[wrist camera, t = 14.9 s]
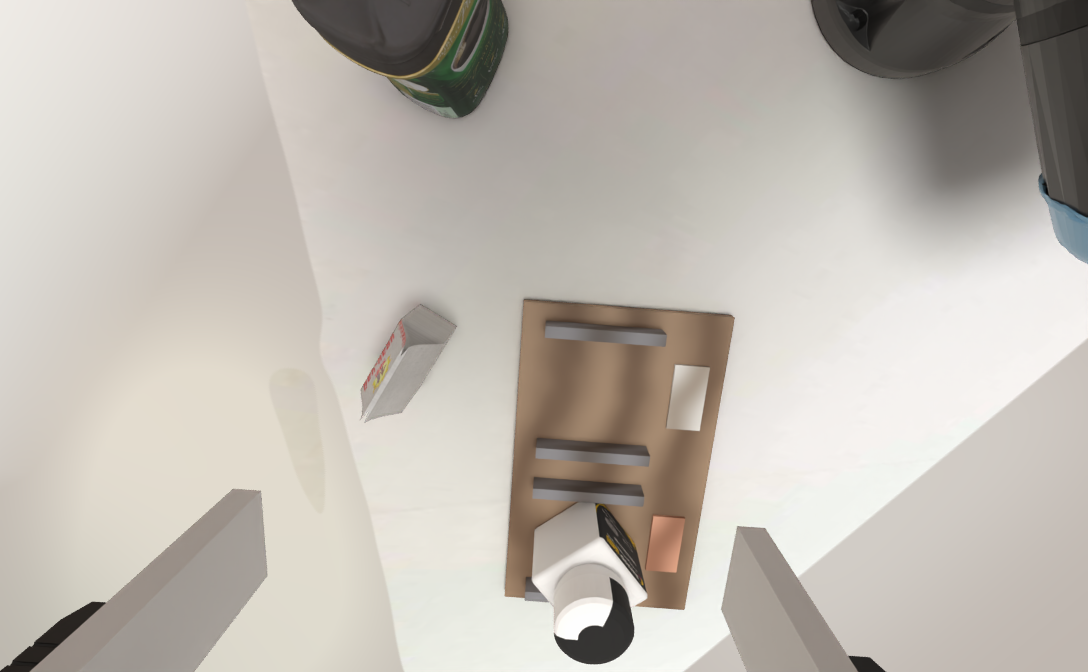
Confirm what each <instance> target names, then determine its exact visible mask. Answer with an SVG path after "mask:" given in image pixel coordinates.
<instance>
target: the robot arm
mask: <svg viewBox="0 0 1088 672" xmlns="http://www.w3.org/2000/svg"><path fill="white" fill-rule="evenodd" d="M812 3H813V8H814V12H815V16H816V19H817V21H818V24H819V26H820V29H821V31H822V33H823V35H824V36H825V38H826V40H827V41H828V43H829V44H830V46H831V47H832V48H833V49H834V51H835V52H836V53H837V54H838V55H839V56H840V57H841V58H843V59H844V60H845V61H846V62H848V63H849V64H850V65H852V66H854V67H855V68H857V69H859V70H861V71H863V72H866V73H868V74H871V75H874V76H879V77H884V78H910V77H916V76H921V75H924V74H928V73H931V72H934V71H936V70H939V69H942V68H945V67H948V66H951V65H953V64H956V63H958V62H960V61H962V60H964V59H966V58H968V57H970V56H971V55H973V54H975V53H976V52H978V51H980V50H981V49H982V48H984V47H985V46H987V45H988V44H989V43H990V42H992V41H993V40H994V39H995V38H996V37H997V36H998V35H1000V34H1001V33H1002V32H1003V31H1004V30H1005V29H1006V28H1007V27H1008V26H1009V25H1010V24H1011V23H1012V22H1013V21H1015V20H1016V19H1017V25H1018V31H1019V37H1020V43H1021V44H1020V45H1021V46H1020V47H1021V53H1022V59H1023V65H1024V71H1025V76H1026V82H1027V88H1028V94H1029V100H1030V106H1031V112H1032V118H1033V123H1034V129H1035V135H1036V141H1037V147H1038V153H1039V159H1040V165H1041V170H1042V173H1041V175H1040V176H1039V179H1038V182H1039V190H1040V193H1041V195H1042V196H1043V197H1044V199H1045V201H1046V202H1047V204H1048V207H1049V211H1050V215H1051V220H1052V224H1053V228H1054V232H1055V235H1056V238H1057V239H1058V241H1059V243H1060V244H1061V245H1062V246H1064V247H1065V248H1066V249H1067V250H1068V251H1069V253H1071V254H1073V255H1074V256H1075V257H1076V258H1077V259H1079V260H1081V261H1083V262H1085V263H1087V264H1088V0H812ZM266 577H267V563H266V550H265V538H264V525H263V511H262V498H261V491H256V490H242V489H232V490H231V491H230V492H229V493H228V494H227V495H226V496H225V497H223V498H222V499H221V500H220V501H219V502H218V503H217V504H216V505H215V506H213V508H211V509H210V510H209V511H208V512H207V513H206V514H205V515H203V516H202V517H201V518H200V519H199V520H198V521H197V522H196V523H195V524H193V525H192V526H191V527H190V528H189V529H188V530H187V531H186V532H185V533H183V534H182V535H181V536H180V537H179V538H178V539H177V540H176V541H175V542H173V543H172V544H171V545H170V546H169V547H168V548H167V549H166V550H165V551H164V552H162V553H161V554H160V555H159V556H158V557H157V558H156V559H154V560H153V561H152V562H151V563H150V564H149V565H148V566H147V567H146V568H144V569H143V570H142V571H141V572H140V573H139V574H138V575H137V576H136V577H134V578H133V579H132V580H131V581H130V582H129V583H128V584H127V585H126V586H125V587H123V588H122V589H121V590H120V591H119V592H118V593H117V594H116V595H114V596H113V597H112V598H111V599H110V600H109V601H108V602H107V603H105V602H91V603H89V604H87V605H86V606H84V607H82V608H80V609H79V610H77V611H75V612H73V613H72V614H70V615H68V616H66V617H65V618H63V619H61V620H60V621H59V622H57V623H56V624H55V625H54V626H53V627H52V628H50V629H49V630H48V631H47V632H46V633H44V634H43V635H42V636H41V637H40V638H39V639H37V640H36V641H35V642H34V645H33V646H32V647H30V646H29V647H28V648H27V649H26V650H25V651H23V652H22V653H21V654H20V655H19V656H17V657H16V658H15V659H14V660H13V662H12V664H11V665H10V666H8V665H7V666H6V667H4V668H3V669H2V670H1V671H0V672H194V671H195V670H196V669H197V667H198V666H199V665H200V663H201V662H202V661H203V660H204V658H205V657H206V656H207V654H208V653H209V652H210V650H211V649H212V648H213V646H214V645H215V644H216V642H217V641H218V640H219V639H220V637H221V636H222V635H223V633H224V632H225V631H226V629H227V628H228V627H229V626H230V624H231V623H232V622H233V620H234V619H235V618H236V616H237V615H238V614H239V612H240V611H241V610H242V608H243V607H244V606H245V605H246V603H247V602H248V601H249V599H250V598H251V597H252V595H253V594H254V593H255V591H256V590H257V589H258V588H259V586H260V585H261V584H262V582H263V581H264V579H265V578H266ZM721 610H722V612H723V615H724V617H725V620H726V622H727V624H728V627H729V629H730V632H731V634H732V637H733V639H734V641H735V644H736V646H737V649H738V651H739V654H740V656H741V658H742V661H743V663H744V666H745V668H746V670H747V672H885V671H884V670H883V669H882V668H881V667H880V666H879V665H878V664H877V663H875V662H874V661H873V660H872V659H871V658H869V657H857V656H847V654H846V652H845V651H844V649H843V648H842V646H841V645H840V643H839V642H838V640H837V639H836V637H835V635H834V634H833V632H832V631H831V629H830V628H829V626H828V625H827V623H826V622H825V620H824V618H823V617H822V615H821V614H820V613H819V611H818V609H817V608H816V606H815V605H814V603H813V601H812V600H811V598H810V597H809V596H808V594H807V592H806V591H805V589H804V588H803V586H802V585H801V583H800V581H799V580H798V578H797V577H796V575H795V574H794V572H793V571H792V569H791V568H790V566H789V564H788V563H787V561H786V560H785V558H784V557H783V555H782V554H781V552H780V551H779V549H778V547H777V546H776V544H775V543H774V541H773V540H772V538H771V537H770V535H769V534H768V532H767V530H766V529H765V528H754V527H741V526H737V531H736V536H735V541H734V546H733V551H732V556H731V562H730V567H729V572H728V577H727V582H726V587H725V593H724V598H723V603H722V608H721Z"/></svg>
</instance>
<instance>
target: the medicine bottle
mask: <svg viewBox="0 0 1088 672" xmlns="http://www.w3.org/2000/svg"><path fill="white" fill-rule="evenodd" d="M532 582H533V584H534V585H535V586H536V587H537V588H538V589H539V591H540V592H541V593H542V594H543V595H544V596H545V598H546V599H547V600H548V601H549V602H550V603H551V605H552V606H553V607H554V637H555V640H556V642H557V644H558V646H559V647H560V649H561V650H562V651H563V652H564V653H565V654H567V655H568V656H569V657H571V658H572V659H574V660H576V661H578V662H581V663H585V664H603V663H607V662H610V661H612V660H614V659H616V658H618V657H619V656H620V655H622V654H623V653H624V652H625V651H626V650H627V648H628V647H629V646H630V644H631V642H632V640H633V637H634V624H633V618H632V613H631V608H632V607H634V606H635V605H637V604H639V603H641V602H642V601H644V600H646V599H647V591H646V587H645V583H644V578H643V574H642V570H641V566H640V562H639V558H638V553H637V549H636V545H635V543H634V542H633V541H632V539H631V538H630V537H629V536H628V534H627V533H626V532H625V530H624V529H623V528H622V527H621V525H620V524H619V523H618V521H617V520H616V519H615V518H614V516H613V515H612V514H611V512H610V511H609V510H608V509H607V507H606V506H605V505H604V504H599V503H586V502H578V503H576V504H574V505H573V506H571V507H570V508H568V509H566V510H565V511H563V512H562V513H560V514H558V515H557V516H555V517H553V518H552V519H550V520H549V521H547V522H545V523H544V524H542V525H541V526H539V527H537V528H536V529H535V532H534V550H533V568H532Z"/></svg>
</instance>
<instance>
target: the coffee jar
mask: <svg viewBox="0 0 1088 672" xmlns="http://www.w3.org/2000/svg"><path fill="white" fill-rule="evenodd" d="M292 2H293V4H294V5H295V7H296V8H297V10H298V11H299V12H300V14H301V15H302V16H303V18H304V19H305V20H306V21H307V22H308V23H309V24H310V25H311V26H312V27H314V28H315V29H316V30H317V31H318V32H319V34H320V35H321V36H322V37H323V39H324V40H325V41H326V42H327V43H328V44H329V45H331V46H332V47H333V48H334V49H335V50H337V51H338V52H339V53H341V54H342V55H344V56H345V57H346V58H348V59H350V60H351V61H353V62H354V63H356V64H358V65H360V66H362V67H363V68H365V69H367V70H370V71H372V72H374V73H377V74H380V75H383V76H386V77H387V78H388V79H389V80H390V81H391V83H392V84H393V85H394V86H395V87H396V88H397V89H398V90H399V91H400V92H401V93H402V94H403V95H405V96H406V97H407V98H409V99H410V100H412V101H413V102H415V103H416V104H418V105H419V106H421V107H423V108H424V109H426V110H429V111H431V112H433V113H436V114H438V115H441V116H444V117H449V118H458V117H463V116H465V115H467V114H469V113H470V112H472V111H473V110H474V109H475V108H476V107H477V106H478V104H479V103H480V101H481V100H482V98H483V96H484V94H485V92H486V91H487V89H488V87H489V85H490V83H491V81H492V79H493V76H494V74H495V72H496V70H497V67H498V65H499V62H500V60H501V57H502V54H503V51H504V47H505V43H506V40H507V35H508V19H507V15H506V11H505V9H504V6H503V4H502V2H501V0H292Z"/></svg>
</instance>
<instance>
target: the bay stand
mask: <svg viewBox="0 0 1088 672" xmlns="http://www.w3.org/2000/svg"><path fill="white" fill-rule="evenodd" d="M734 319H735V317H733V316H731V315H723V314H710V313H697V312H684V311H670V310H657V309H644V308H631V307H618V306H605V305H591V304H578V303H565V302H552V301H539V300H525V299H524V306H523V321H522V337H521V352H520V368H519V383H518V399H517V414H516V430H515V445H514V460H513V476H512V491H511V507H510V522H509V538H508V553H507V569H506V584H505V596H506V597H519V598H525V601H539V602H549V601H548V600H547V599H546V598H545V596H544V595H543V594H542V593H541V592H540V591H539V589H538V588H537V587H536V586H535V585H534V584H533V582H532V568H533V550H534V532H535V529H536V528H537V527H539V526H541V525H542V524H544V523H545V522H547V521H549V520H550V519H552V518H553V517H555V516H557V515H558V514H560V513H562V512H563V511H565V510H566V509H568V508H570V507H571V506H573V505H574V504H576V503H578V502H586V503H599V504H604V505H605V506H606V507H607V509H608V510H609V511H610V512H611V514H612V515H613V516H614V518H615V519H616V520H617V521H618V523H619V524H620V525H621V527H622V528H623V529H624V530H625V532H626V533H627V534H628V536H629V537H630V538H631V539H632V541H633V542H634V543H635V545H636V549H637V553H638V558H639V562H640V566H641V570H642V574H643V578H644V583H645V587H646V591H647V599H646V600H644V601H642V602H641V603H639V604H637V605H635V606H640V607H654V608H667V609H680V610H684V609H685V603H686V597H687V591H688V586H689V580H690V574H691V568H692V562H693V557H694V551H695V545H696V539H697V533H698V528H699V522H700V516H701V510H702V504H703V499H704V493H705V487H706V481H707V476H708V470H709V464H710V458H711V452H712V447H713V441H714V435H715V429H716V423H717V418H718V412H719V406H720V400H721V394H722V389H723V383H724V377H725V371H726V365H727V360H728V354H729V348H730V342H731V337H732V331H733V325H734Z"/></svg>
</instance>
